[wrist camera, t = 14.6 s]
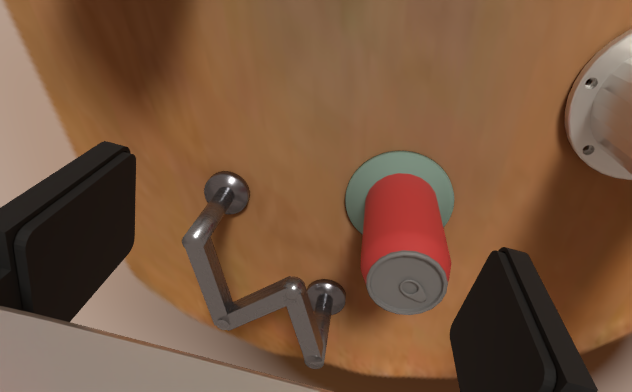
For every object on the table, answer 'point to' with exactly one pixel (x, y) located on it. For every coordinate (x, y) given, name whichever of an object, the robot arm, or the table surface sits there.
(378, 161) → the coaster
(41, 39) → the table surface
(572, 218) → the table surface
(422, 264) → the beer can
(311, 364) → the zigzag metal bar linkage
